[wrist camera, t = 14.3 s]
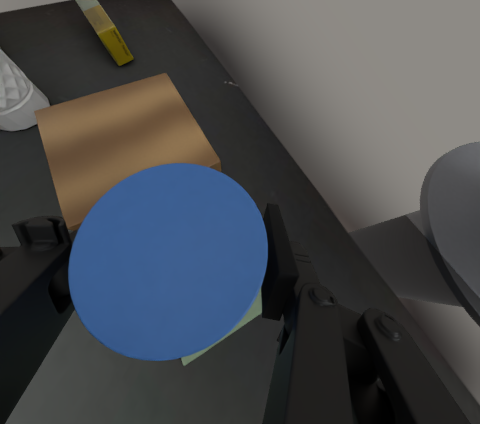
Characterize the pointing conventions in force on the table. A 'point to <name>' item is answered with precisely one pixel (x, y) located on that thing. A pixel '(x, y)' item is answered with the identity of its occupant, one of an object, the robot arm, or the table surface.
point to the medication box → (106, 31)
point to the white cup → (17, 97)
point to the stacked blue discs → (168, 261)
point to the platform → (117, 140)
